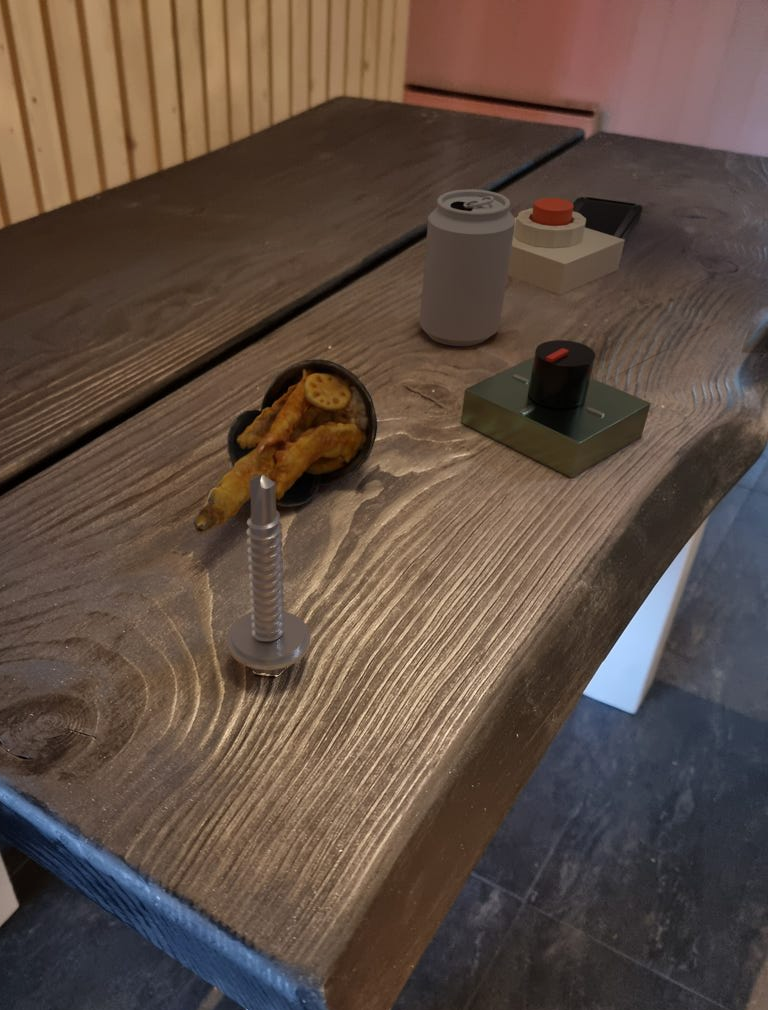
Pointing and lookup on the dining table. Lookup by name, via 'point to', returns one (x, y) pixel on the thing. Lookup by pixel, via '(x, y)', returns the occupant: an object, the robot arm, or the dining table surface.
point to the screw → (266, 594)
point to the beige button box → (561, 253)
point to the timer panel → (554, 420)
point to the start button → (552, 212)
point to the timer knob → (561, 374)
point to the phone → (608, 215)
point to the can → (466, 266)
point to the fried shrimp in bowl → (296, 439)
